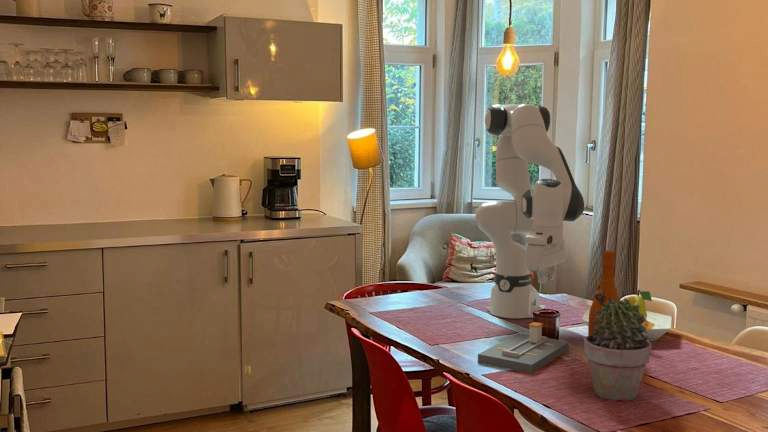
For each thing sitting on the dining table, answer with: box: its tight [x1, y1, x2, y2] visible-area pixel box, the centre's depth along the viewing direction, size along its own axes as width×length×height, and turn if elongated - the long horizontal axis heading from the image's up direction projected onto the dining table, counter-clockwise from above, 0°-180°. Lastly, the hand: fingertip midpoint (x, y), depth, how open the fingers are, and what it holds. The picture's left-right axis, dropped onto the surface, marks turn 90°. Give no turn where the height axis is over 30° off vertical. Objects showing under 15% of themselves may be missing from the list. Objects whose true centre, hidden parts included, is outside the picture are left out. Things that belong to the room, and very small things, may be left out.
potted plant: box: [578, 289, 663, 402], centre depth 186 cm, size 18×20×25 cm
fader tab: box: [528, 321, 544, 343], centre depth 223 cm, size 3×3×5 cm
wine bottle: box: [587, 249, 622, 336], centre depth 218 cm, size 10×10×30 cm
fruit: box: [581, 289, 672, 342], centre depth 240 cm, size 30×26×14 cm
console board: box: [477, 332, 570, 374], centre depth 218 cm, size 26×16×4 cm, turn 145°
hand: (545, 281), depth 226 cm, fingers open, 4 cm apart
